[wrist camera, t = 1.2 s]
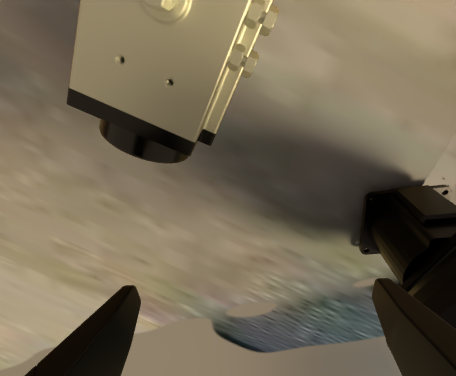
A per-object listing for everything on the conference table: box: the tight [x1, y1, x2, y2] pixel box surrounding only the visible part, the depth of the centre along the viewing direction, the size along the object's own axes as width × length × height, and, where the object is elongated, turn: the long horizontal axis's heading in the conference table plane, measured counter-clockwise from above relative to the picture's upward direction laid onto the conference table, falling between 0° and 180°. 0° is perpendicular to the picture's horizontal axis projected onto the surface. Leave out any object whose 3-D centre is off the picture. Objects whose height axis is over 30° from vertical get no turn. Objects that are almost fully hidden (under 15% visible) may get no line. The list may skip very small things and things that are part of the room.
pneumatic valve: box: [67, 0, 279, 163], centre depth 12 cm, size 6×12×12 cm, turn 156°
